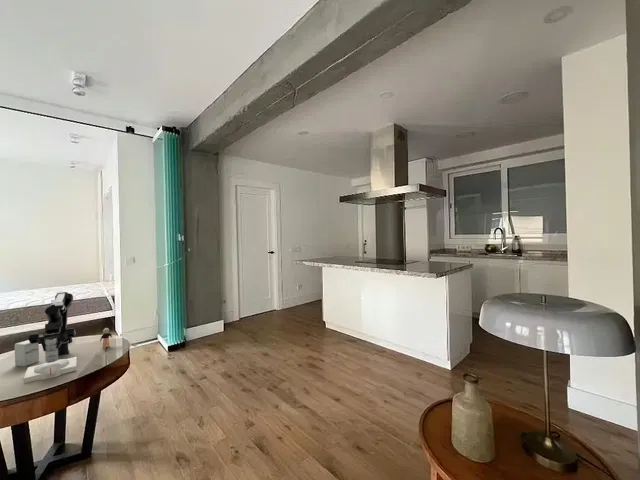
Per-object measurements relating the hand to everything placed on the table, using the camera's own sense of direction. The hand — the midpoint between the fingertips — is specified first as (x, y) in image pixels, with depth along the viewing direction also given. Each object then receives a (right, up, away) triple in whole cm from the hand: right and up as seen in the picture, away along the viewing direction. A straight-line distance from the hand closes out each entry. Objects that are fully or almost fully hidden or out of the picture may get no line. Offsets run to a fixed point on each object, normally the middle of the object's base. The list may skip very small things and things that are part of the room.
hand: (51, 349), depth 154 cm
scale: (0, -12, +1) cm, 12 cm away
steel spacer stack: (-1, -7, +1) cm, 7 cm away
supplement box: (-25, -13, +12) cm, 31 cm away
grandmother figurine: (+5, -12, +34) cm, 36 cm away
